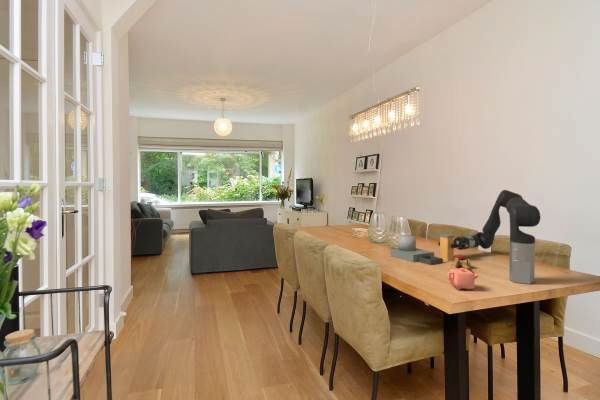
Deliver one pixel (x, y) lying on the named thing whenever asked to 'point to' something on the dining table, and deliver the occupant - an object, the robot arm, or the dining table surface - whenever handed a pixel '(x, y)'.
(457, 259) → the red flower
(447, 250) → the orange tall block
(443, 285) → the dining table surface
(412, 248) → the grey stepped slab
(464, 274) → the pink cube teapot
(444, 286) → the dining table surface
